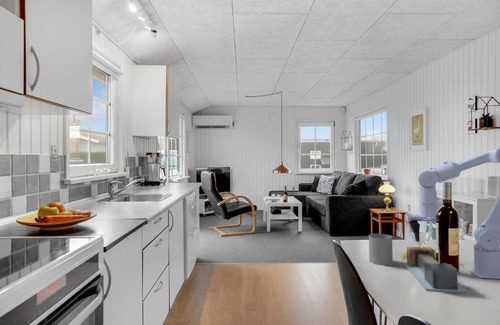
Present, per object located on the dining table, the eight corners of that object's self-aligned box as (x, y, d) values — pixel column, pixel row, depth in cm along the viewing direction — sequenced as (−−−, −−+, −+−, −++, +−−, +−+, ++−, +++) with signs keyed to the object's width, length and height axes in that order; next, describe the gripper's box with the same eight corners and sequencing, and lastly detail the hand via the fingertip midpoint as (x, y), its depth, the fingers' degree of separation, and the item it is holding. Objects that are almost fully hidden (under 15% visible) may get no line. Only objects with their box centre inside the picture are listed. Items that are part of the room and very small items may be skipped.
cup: (394, 265, 118) (394, 239, 118) (371, 264, 120) (371, 238, 120) (389, 259, 126) (389, 234, 126) (367, 258, 128) (367, 233, 128)
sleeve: (446, 280, 101) (446, 261, 101) (457, 289, 93) (457, 269, 93) (424, 278, 102) (424, 260, 103) (433, 288, 95) (433, 268, 95)
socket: (431, 264, 117) (430, 247, 117) (434, 267, 114) (434, 250, 114) (407, 263, 119) (406, 246, 119) (409, 266, 115) (409, 249, 115)
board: (435, 266, 117) (435, 264, 117) (467, 293, 92) (467, 290, 92) (403, 264, 119) (403, 263, 119) (425, 290, 95) (425, 288, 95)
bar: (425, 264, 116) (425, 251, 116) (443, 281, 100) (443, 266, 100) (415, 264, 117) (414, 251, 117) (431, 280, 101) (430, 265, 101)
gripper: (410, 205, 113) (410, 243, 113) (454, 205, 110) (455, 244, 110) (404, 202, 120) (405, 238, 120) (446, 202, 117) (447, 239, 117)
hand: (428, 241), depth 115 cm, fingers open, 7 cm apart
